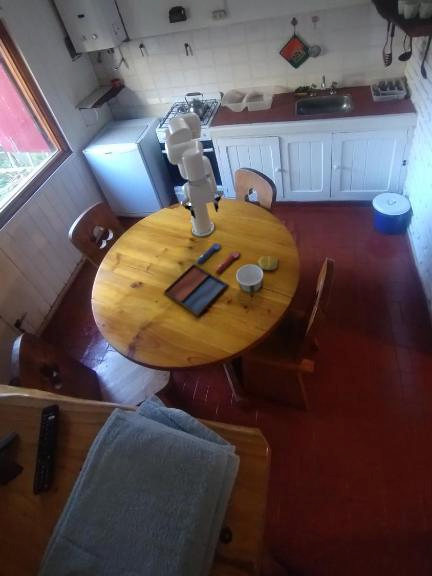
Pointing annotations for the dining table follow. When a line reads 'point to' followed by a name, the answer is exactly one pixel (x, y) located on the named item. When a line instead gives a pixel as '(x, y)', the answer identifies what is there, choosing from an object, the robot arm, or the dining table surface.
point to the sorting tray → (196, 289)
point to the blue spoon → (208, 253)
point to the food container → (250, 277)
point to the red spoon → (228, 261)
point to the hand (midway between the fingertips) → (205, 213)
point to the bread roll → (268, 262)
